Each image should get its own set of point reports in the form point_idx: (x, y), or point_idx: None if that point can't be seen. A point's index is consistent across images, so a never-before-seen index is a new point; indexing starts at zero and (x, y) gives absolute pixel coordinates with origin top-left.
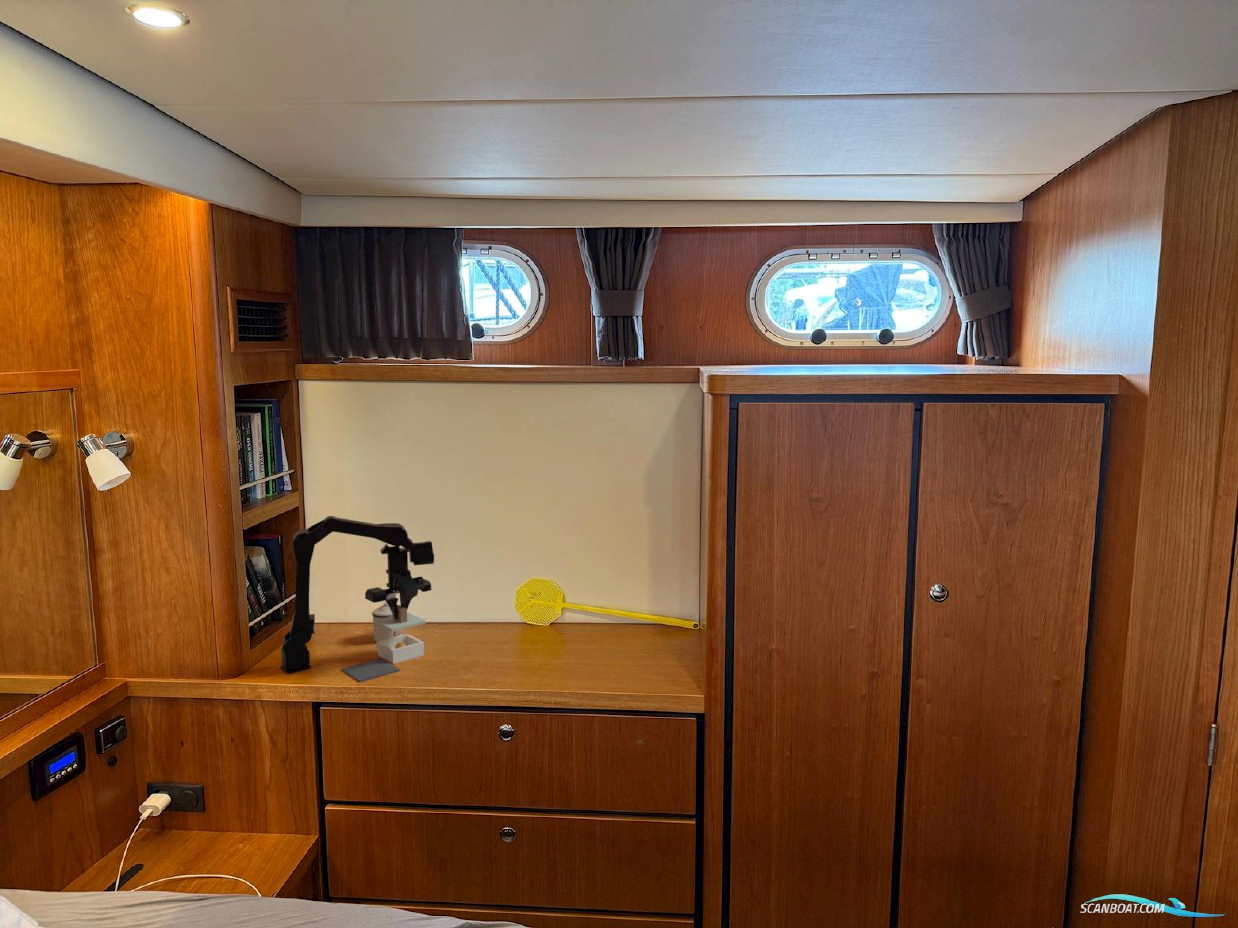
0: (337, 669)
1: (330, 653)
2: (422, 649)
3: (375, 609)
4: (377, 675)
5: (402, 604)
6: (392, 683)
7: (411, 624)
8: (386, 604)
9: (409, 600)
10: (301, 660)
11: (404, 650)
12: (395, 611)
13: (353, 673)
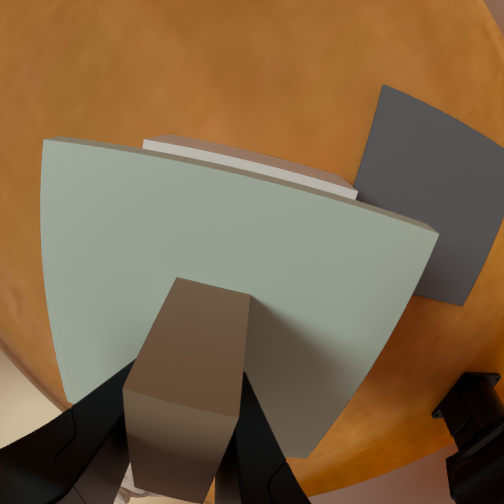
0: (458, 314)
1: (352, 420)
2: (168, 137)
3: (156, 496)
4: (472, 132)
5: (114, 472)
6: (477, 36)
7: (208, 165)
8: (121, 495)
9: (19, 462)
10: (487, 394)
11: (280, 166)
12: (263, 437)
13: (486, 234)
